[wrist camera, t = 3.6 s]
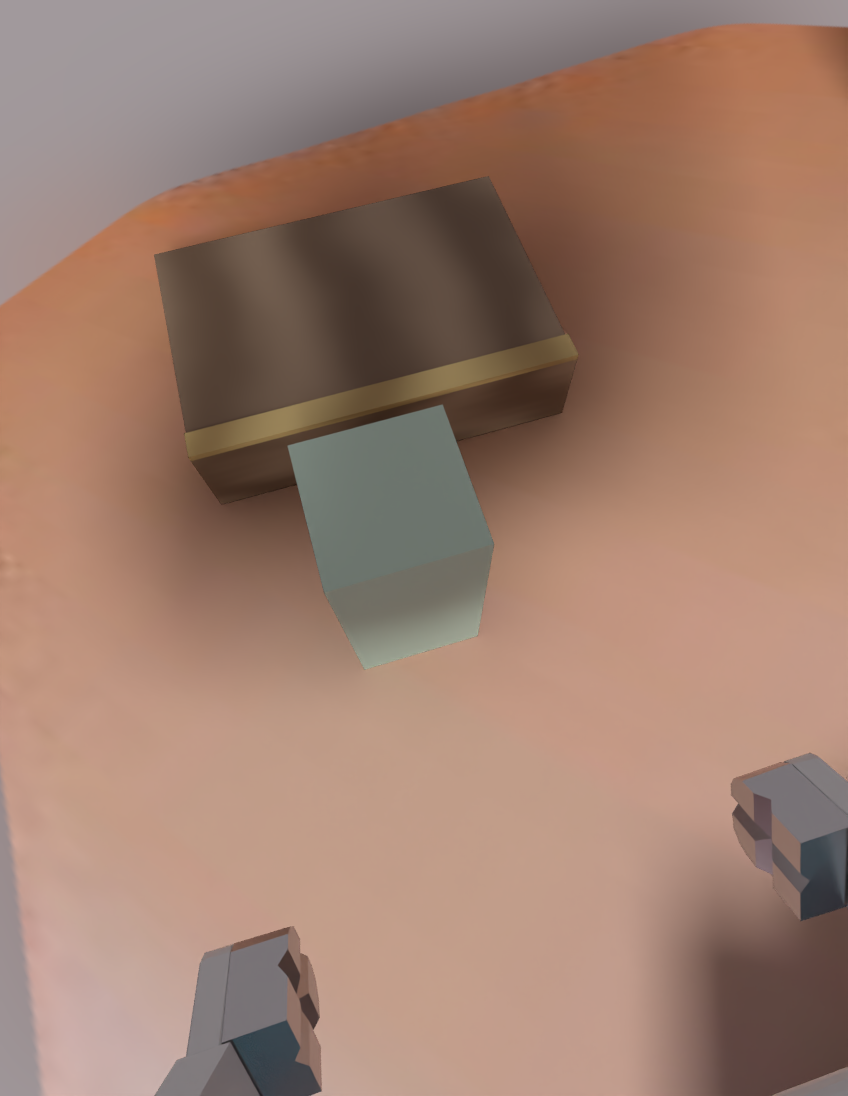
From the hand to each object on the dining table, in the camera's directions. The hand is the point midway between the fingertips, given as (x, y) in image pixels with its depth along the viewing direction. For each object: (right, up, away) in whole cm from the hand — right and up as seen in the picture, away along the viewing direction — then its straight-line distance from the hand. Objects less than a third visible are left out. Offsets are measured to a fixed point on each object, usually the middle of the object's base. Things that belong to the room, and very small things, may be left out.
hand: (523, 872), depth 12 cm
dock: (-5, +15, +22) cm, 27 cm away
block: (-3, +3, +17) cm, 18 cm away
